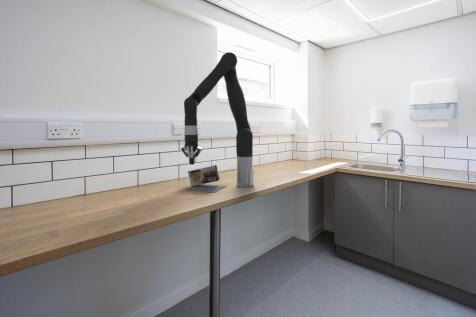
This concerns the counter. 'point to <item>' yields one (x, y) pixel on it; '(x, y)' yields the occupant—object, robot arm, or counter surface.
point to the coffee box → (203, 175)
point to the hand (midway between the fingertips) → (192, 164)
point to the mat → (206, 188)
